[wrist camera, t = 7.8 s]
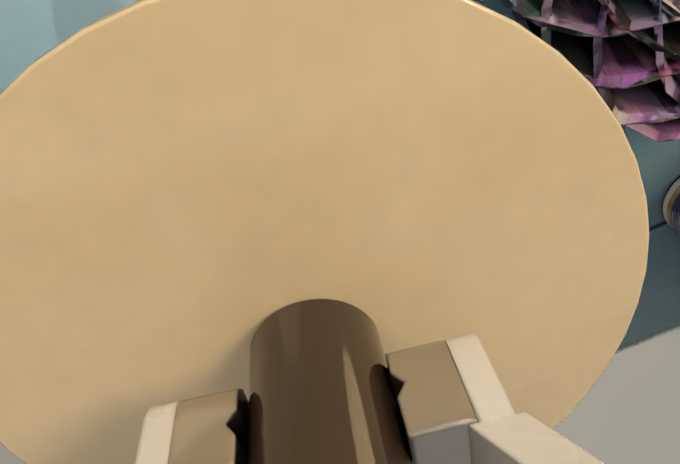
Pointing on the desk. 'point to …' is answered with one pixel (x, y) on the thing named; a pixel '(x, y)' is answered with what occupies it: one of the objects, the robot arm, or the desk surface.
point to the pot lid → (302, 222)
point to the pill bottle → (673, 206)
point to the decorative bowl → (618, 54)
